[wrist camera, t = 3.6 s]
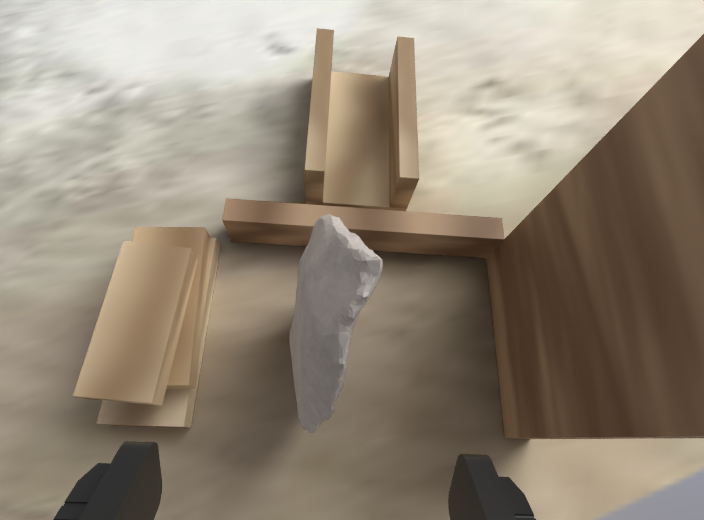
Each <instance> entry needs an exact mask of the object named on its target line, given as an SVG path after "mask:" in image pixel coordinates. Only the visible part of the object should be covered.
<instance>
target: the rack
mask: <svg viewBox="0 0 704 520" xmlns="http://www.w3.org/2000/svg"><path fill="white" fill-rule="evenodd" d="M327 214H330V215H332V216H335V217H339V218H340V220H341V221H342V222H343V224H344V226H346V228H347V229H348V230H349V232H351V233H355V234H356V235H358V236H359V237H360V239H361V240H362V241H363V243H364V244H365V246H367V247H368V248H369V249H370V250H373V251H385V252H401V253H416V254H432V255H447V256H462V257H478V258H486V260H487V270H488V279H489V289H490V299H491V309H492V319H493V329H494V338H495V348H496V358H497V368H498V378H499V388H500V397H501V407H502V417H503V427H504V437H505V438H519V439H614V438H704V34H703V35H702V36H701V37H700V38H699V39H698V40H697V41H696V42H695V44H694V45H693V46H692V47H691V48H690V49H689V50H688V51H687V52H686V53H685V54H684V55H683V56H682V57H681V58H680V59H679V60H678V61H677V62H676V63H675V64H674V65H673V66H672V67H671V68H670V69H669V70H668V71H667V72H666V73H665V74H664V75H663V76H662V78H661V79H660V80H659V81H658V82H657V83H656V84H655V85H654V86H653V87H652V88H651V89H650V90H649V91H648V92H647V93H646V94H645V95H644V96H643V97H642V98H641V99H640V100H639V101H638V102H637V103H636V104H635V105H634V106H633V107H632V108H631V109H630V111H629V112H628V113H627V114H626V115H625V116H624V117H623V118H622V119H621V120H620V121H619V122H618V123H617V124H616V125H615V126H614V127H613V128H612V129H611V130H610V131H609V132H608V133H607V134H606V135H605V136H604V137H603V138H602V139H601V140H600V141H599V142H598V143H597V145H596V146H595V147H594V148H593V149H592V150H591V151H590V152H589V153H588V154H587V155H586V156H585V157H584V158H583V159H582V160H581V161H580V162H579V163H578V164H577V165H576V166H575V167H574V168H573V169H572V170H571V171H570V172H569V173H568V174H567V175H566V176H565V177H564V179H563V180H562V181H561V182H560V183H559V184H558V185H557V186H556V187H555V188H554V189H553V190H552V191H551V192H550V193H549V194H548V195H547V196H546V197H545V198H544V199H543V200H542V201H541V202H540V203H539V204H538V205H537V206H536V207H535V208H534V209H533V210H532V211H531V213H530V214H529V215H528V216H527V217H526V218H525V219H524V220H523V221H522V222H521V223H520V224H519V225H518V226H517V227H516V228H515V229H514V230H513V231H512V232H511V233H510V234H509V235H508V236H507V237H506V238H505V239H504V231H503V223H502V218H491V217H477V216H463V215H449V214H436V213H422V212H408V211H394V210H380V209H366V208H352V207H338V206H324V205H310V204H297V203H283V202H269V201H255V200H241V199H227V198H226V202H225V208H224V214H223V223H224V225H225V228H226V230H227V233H228V235H229V238H230V240H231V242H246V243H262V244H277V245H293V246H307V245H308V244H309V241H310V238H311V234H312V231H313V228H314V224H315V222H316V221H317V220H318V219H319V218H320V217H321V216H324V215H327Z"/></svg>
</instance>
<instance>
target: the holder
mask: <svg viewBox="0 0 704 520" xmlns="http://www.w3.org/2000/svg"><path fill="white" fill-rule="evenodd" d="M333 36H334V30H327V29H317V34H316V45H315V57H314V68H313V80H312V91H311V103H310V114H309V126H308V137H307V148H306V160H305V204H310V205H324V206H338V207H352V208H366V209H380V210H394V211H406V209H407V207H408V204H409V202H410V199H411V197H412V195H413V192H414V190H415V187H416V185H417V183H418V180H419V160H418V134H417V107H416V81H415V54H414V38H406V37H397V41H396V46H395V50H394V55H393V60H392V64H391V69H390V73H389V77H386V76H376V75H365V74H355V73H344V72H334V71H331V70H332V53H333Z"/></svg>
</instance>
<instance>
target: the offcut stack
mask: <svg viewBox="0 0 704 520" xmlns="http://www.w3.org/2000/svg"><path fill="white" fill-rule="evenodd" d="M219 254H220V245H219V243H218V241H217V239H216V238H211V237H210V236H209V234H208V232H207V230H206V228H199V227H134V233H133V238H132V242H131V241H123V243H122V247H121V250H120V253H119V256H118V259H117V262H116V265H115V268H114V271H113V274H112V277H111V280H110V283H109V286H108V289H107V292H106V296H105V299H104V302H103V305H102V308H101V311H100V314H99V317H98V320H97V323H96V326H95V329H94V332H93V335H92V338H91V341H90V345H89V348H88V351H87V354H86V357H85V360H84V363H83V366H82V369H81V372H80V375H79V378H78V381H77V384H76V387H75V390H74V394H73V396H76V397H81V398H86V399H95V400H102V403H101V407H100V411H99V415H98V419H97V423H96V424H107V425H134V426H163V427H191V424H192V418H193V412H194V406H195V400H196V394H197V387H198V381H199V375H200V369H201V363H202V357H203V351H204V345H205V339H206V333H207V327H208V321H209V315H210V309H211V303H212V297H213V291H214V285H215V279H216V273H217V266H218V260H219Z"/></svg>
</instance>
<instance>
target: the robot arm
mask: <svg viewBox="0 0 704 520" xmlns="http://www.w3.org/2000/svg"><path fill="white" fill-rule="evenodd" d="M161 493H162V478H161V469H160V460H159V450H158V445H157V443H156V442H128V441H126V442H124V443H123V444H122V445H121V447H120V449H119V450H118V452H117V454H116V455H115V457H114V459H113V460H112V462H111V464H107V463H98V464H97V465H96V466H95V467H93V468H92V469H91V470H90V471H89V472H88V473H87V474H85V475H84V476H83V477H82V478H81V479H80V480H78V482H77V483H76V485H75V487H74V488H73V490H72V491H71V493H70V494H69V496H68V497H67V499H66V501H65V504H64V506H62V507H61V508H60V510H59V511H58V513H57V515H56V516H55V518H54V520H154V517H155V515H156V512H157V510H158V507H159V503H160V499H161ZM448 506H449V515H450V520H536V519H534V514H533V512H532V510H531V508H530V505H529V503H528V501H527V499H526V497H525V495H524V494H523V492H522V491H521V490H520V489H519V488H518V487H517V486H516V485H515V483H514V482H513V481H512V480H511V479H510V478H509V477H498V475H497V472H496V470H495V468H494V465H493V463H492V461H491V459H490V457H489V456H487V455H470V454H460V455H459V456H458V458H457V462H456V466H455V471H454V475H453V479H452V483H451V487H450V491H449V498H448Z"/></svg>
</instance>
